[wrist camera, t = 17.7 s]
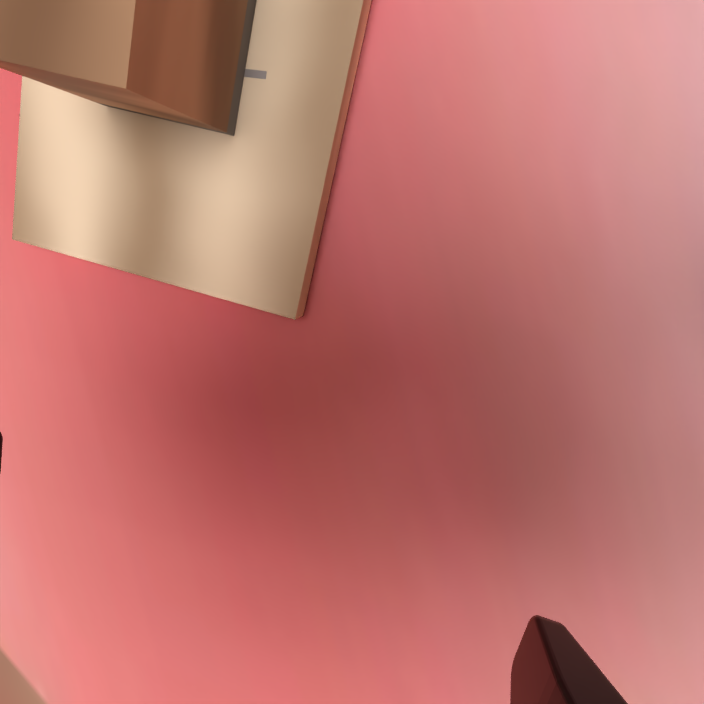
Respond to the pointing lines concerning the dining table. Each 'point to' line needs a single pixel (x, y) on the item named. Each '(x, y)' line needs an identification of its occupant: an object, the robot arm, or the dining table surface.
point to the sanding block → (136, 54)
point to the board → (202, 168)
